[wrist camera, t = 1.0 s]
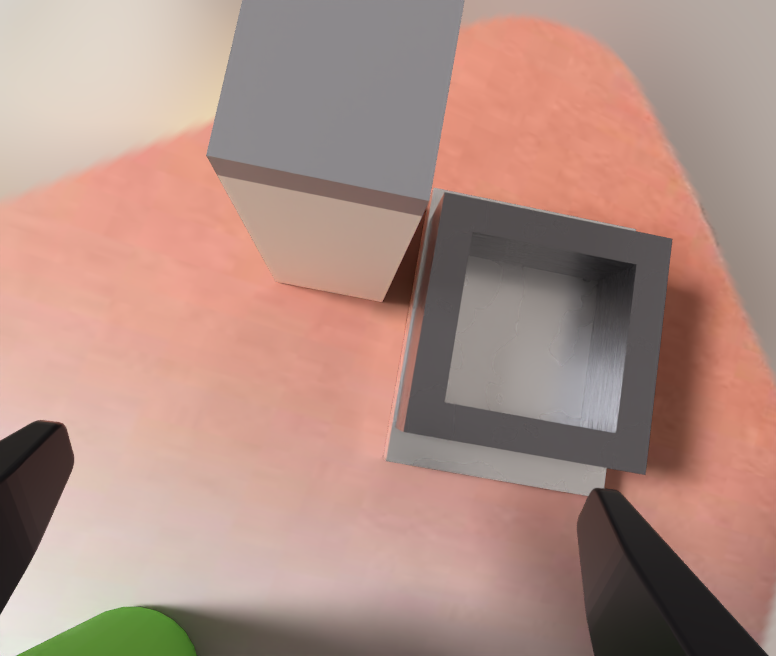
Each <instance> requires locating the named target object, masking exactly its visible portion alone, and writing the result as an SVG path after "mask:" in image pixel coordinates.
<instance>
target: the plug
mask: <svg viewBox="0 0 776 656" xmlns="http://www.w3.org/2000/svg"><path fill="white" fill-rule="evenodd" d="M463 6H464V0H242V4H241V9H240V13H239V17H238V22H237V26H236V30H235V34H234V39H233V44H232V47H231V52H230V56H229V60H228V65H227V69H226V73H225V77H224V82H223V86H222V91H221V95H220V99H219V103H218V107H217V112H216V116H215V120H214V125H213V129H212V133H211V137H210V142H209V146H208V150H207V155H206V156H207V158H208V159H209V161H210V163H211V165H212V167H213V168H214V170H215V172H216V174H217V176H218V178H219V179H220V181H221V183H222V185H223V187H224V189H225V190H226V192H227V194H228V196H229V198H230V199H231V201H232V203H233V205H234V207H235V209H236V210H237V212H238V214H239V216H240V218H241V220H242V221H243V223H244V225H245V227H246V229H247V230H248V232H249V234H250V236H251V238H252V240H253V241H254V243H255V245H256V247H257V249H258V251H259V252H260V254H261V256H262V258H263V260H264V261H265V263H266V265H267V267H268V269H269V271H270V272H271V274H272V276H273V278H274V280H275V282H279V283H285V284H290V285H295V286H300V287H305V288H311V289H316V290H321V291H326V292H332V293H337V294H342V295H347V296H352V297H358V298H363V299H368V300H373V301H379V302H383V299H384V297H385V295H386V293H387V291H388V289H389V287H390V284H391V282H392V280H393V278H394V276H395V274H396V271H397V269H398V267H399V265H400V263H401V261H402V259H403V256H404V254H405V252H406V250H407V248H408V246H409V244H410V241H411V239H412V237H413V235H414V233H415V231H416V228H417V226H418V224H419V222H420V220H421V218H422V216H423V213H424V211H425V209H426V207H427V205H428V203H429V200H430V194H431V188H432V183H433V177H434V171H435V166H436V160H437V154H438V149H439V143H440V137H441V131H442V126H443V120H444V114H445V109H446V103H447V97H448V92H449V86H450V80H451V74H452V69H453V63H454V57H455V52H456V46H457V40H458V35H459V29H460V23H461V17H462V12H463Z"/></svg>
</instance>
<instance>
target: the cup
mask: <svg viewBox="0 0 776 656" xmlns="http://www.w3.org/2000/svg"><path fill="white" fill-rule="evenodd" d="M17 656H197V654H196V651H195V648H194V645H193V644H192V642H191V640H190V639H189V637H188V635H187V634H186V632H185V631H184V630H183V629H182V628H181V627H180V626H179V625H178V624H177V623H176V622H175V621H174V620H173V619H171V618H169V617H167V616H166V615H164V614H162V613H160V612H158V611H155V610H151V609H147V608H143V607H121V608H117V609H113V610H109V611H105V612H103V613H101V614H99V615H97V616H95V617H93V618H91V619H89V620H87V621H85V622H83V623H81V624H79V625H77V626H75V627H73V628H71V629H69V630H67V631H65V632H63V633H61V634H59V635H57V636H55V637H53V638H51V639H49V640H47V641H45V642H43V643H41V644H39V645H37V646H35V647H33V648H31V649H29V650H27V651H25V652H23V653H21V654H19V655H17Z"/></svg>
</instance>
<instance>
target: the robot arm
mask: <svg viewBox="0 0 776 656" xmlns="http://www.w3.org/2000/svg"><path fill="white" fill-rule="evenodd" d="M73 465H74V454H73V450H72V447H71V443H70V439H69V436H68V432H67V429H66V426H65V425H64V424H63V423H60V422H54V421H45V420H38V421H35V422H32V423H31V424H29V425H27V426H25V427H23V428H22V429H20V430H18V431H16V432H15V433H13V434H11V435H9V436H8V437H6V438H4V439H2V440H1V441H0V614H1V613H2V611H3V609H4V607H5V606H6V604H7V602H8V600H9V599H10V597H11V595H12V593H13V592H14V590H15V588H16V586H17V585H18V583H19V581H20V579H21V578H22V576H23V574H24V573H25V571H26V569H27V567H28V565H29V564H30V562H31V560H32V558H33V556H34V554H35V552H36V550H37V548H38V546H39V544H40V542H41V540H42V537H43V535H44V533H45V531H46V528H47V526H48V524H49V522H50V519H51V517H52V515H53V513H54V510H55V508H56V506H57V503H58V501H59V499H60V497H61V494H62V492H63V490H64V488H65V485H66V483H67V481H68V479H69V476H70V474H71V472H72V469H73ZM577 536H578V545H579V554H580V564H581V573H582V583H583V592H584V601H585V609H586V617H587V623H588V628H589V633H590V638H591V642H592V647H593V652H594V656H768V655H767V653H766V652H765V651H764V650H763V649H762V648H761V647H760V646H759V645H758V643H757V642H756V641H755V640H754V639H753V638H752V637H751V636H750V635H749V634H748V632H747V631H746V630H745V629H744V628H743V627H742V626H741V625H740V624H739V623H738V621H737V620H736V619H735V618H734V617H733V616H732V615H731V614H730V613H729V612H728V610H727V609H726V608H725V607H724V606H723V605H722V604H721V603H720V602H719V600H718V599H717V598H716V597H715V596H714V595H713V594H712V593H711V592H710V591H709V589H708V588H707V587H706V586H705V585H704V584H703V583H702V582H701V581H700V580H699V578H698V577H697V576H696V575H695V574H694V573H693V572H692V571H691V570H690V569H689V567H688V566H687V565H686V564H685V563H684V562H683V561H682V560H681V559H680V557H679V556H678V555H677V554H676V553H675V552H674V551H673V550H672V549H671V548H670V546H669V545H668V544H667V543H666V542H665V541H664V540H663V539H662V538H661V537H660V535H659V534H658V533H657V532H656V531H655V530H654V529H653V528H652V527H651V526H650V524H649V523H648V522H647V521H646V520H645V519H644V518H643V517H642V516H641V514H640V513H639V512H638V511H637V510H636V509H635V508H634V507H633V506H632V505H631V503H630V502H629V501H628V500H627V499H626V498H625V497H624V496H623V495H622V494H621V493H620V492H619V491H617V490H613V489H605V488H594V489H593V490H591V492H590V494H589V496H588V498H587V500H586V502H585V504H584V507H583V509H582V511H581V513H580V515H579V518H578V522H577Z"/></svg>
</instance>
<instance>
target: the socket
mask: <svg viewBox="0 0 776 656" xmlns="http://www.w3.org/2000/svg"><path fill="white" fill-rule="evenodd" d="M671 246H672V239H671V238H666V237H661V236H656V235H651V234H646V233H642V232H637V231H636V229H632V228H627V227H623V226H618V225H613V224H608V223H603V222H598V221H593V220H589V219H584V218H579V217H574V216H569V215H564V214H559V213H555V212H550V211H545V210H540V209H535V208H530V207H525V206H520V205H516V204H511V203H506V202H501V201H496V200H491V199H486V198H482V197H477V196H472V195H467V194H462V193H457V192H452V191H448V190H443V189H438V188H433V190H432V192H431V195H430V200H429V203H428V205H427V208H426V214H425V220H424V226H423V231H422V237H421V243H420V248H419V254H418V260H417V265H416V271H415V277H414V282H413V288H412V294H411V300H410V305H409V311H408V317H407V322H406V328H405V334H404V339H403V345H402V351H401V356H400V362H399V368H398V374H397V379H396V385H395V391H394V396H393V402H392V408H391V413H390V419H389V425H388V430H387V436H386V442H385V448H384V453H383V458H384V459H385V460H386V461H389V462H395V463H401V464H406V465H412V466H418V467H424V468H429V469H435V470H441V471H447V472H452V473H458V474H464V475H470V476H475V477H481V478H487V479H493V480H498V481H504V482H510V483H516V484H521V485H527V486H533V487H539V488H545V489H550V490H556V491H562V492H568V493H573V494H579V495H585V496H589V494H590V492H591V490H593V489H594V488H604V485H605V477H606V469H607V468H609V469H615V470H621V471H626V472H632V473H638V474H643V475H646V466H647V457H648V448H649V439H650V431H651V422H652V413H653V404H654V395H655V387H656V378H657V369H658V360H659V352H660V343H661V334H662V325H663V316H664V308H665V299H666V290H667V281H668V273H669V264H670V255H671Z"/></svg>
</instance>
